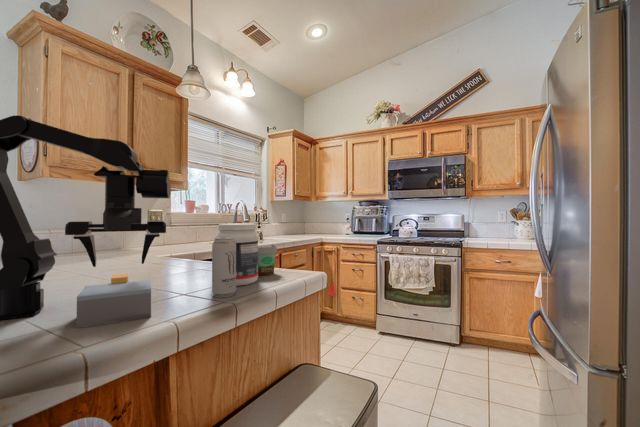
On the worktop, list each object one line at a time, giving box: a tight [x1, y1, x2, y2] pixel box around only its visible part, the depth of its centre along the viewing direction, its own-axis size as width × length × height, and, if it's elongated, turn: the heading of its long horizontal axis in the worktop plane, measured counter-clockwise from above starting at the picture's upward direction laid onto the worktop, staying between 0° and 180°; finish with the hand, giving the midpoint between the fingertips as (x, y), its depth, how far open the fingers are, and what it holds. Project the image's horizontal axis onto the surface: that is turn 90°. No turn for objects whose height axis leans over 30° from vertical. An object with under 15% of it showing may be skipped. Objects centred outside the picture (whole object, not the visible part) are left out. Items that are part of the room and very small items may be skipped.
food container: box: [258, 244, 278, 277], centre depth 106 cm, size 12×6×10 cm, turn 143°
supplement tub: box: [215, 222, 259, 287], centre depth 94 cm, size 13×13×18 cm
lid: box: [76, 273, 152, 302], centre depth 64 cm, size 12×14×3 cm
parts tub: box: [76, 292, 152, 329], centre depth 63 cm, size 12×10×5 cm
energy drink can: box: [211, 237, 237, 298], centre depth 79 cm, size 6×6×15 cm
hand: (119, 265), depth 69 cm, fingers open, 9 cm apart
